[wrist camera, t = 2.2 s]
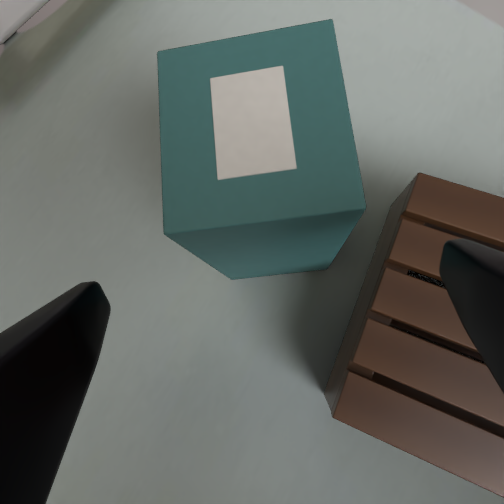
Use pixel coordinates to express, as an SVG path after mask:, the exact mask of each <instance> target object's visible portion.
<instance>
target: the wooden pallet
mask: <svg viewBox="0 0 504 504" xmlns="http://www.w3.org/2000/svg"><path fill="white" fill-rule="evenodd" d="M461 238H465V239H468V240H471V241H474V242H477V243H479V244H482V245H485V246H488V247H490V248H493V249H496V250H499V251H501V252H504V198H502V197H499V196H496V195H492V194H489V193H486V192H482V191H479V190H476V189H472V188H469V187H466V186H463V185H459V184H456V183H453V182H449V181H446V180H443V179H439V178H436V177H433V176H429V175H426V174H423V173H418V174H417V175H416V176H415V177H414V179H413V180H412V181H411V183H410V184H409V185H408V186H407V187H406V188H405V190H404V191H403V192H402V193H401V194H400V196H399V197H398V198H397V199H396V200H395V202H394V203H393V204H392V205H391V208H390V211H389V213H388V216H387V219H386V222H385V225H384V227H383V230H382V233H381V236H380V238H379V241H378V244H377V247H376V250H375V252H374V255H373V258H372V261H371V264H370V266H369V269H368V272H367V275H366V278H365V280H364V283H363V286H362V289H361V291H360V294H359V297H358V300H357V303H356V305H355V308H354V311H353V314H352V317H351V319H350V322H349V325H348V328H347V330H346V333H345V336H344V339H343V342H342V344H341V347H340V350H339V353H338V356H337V358H336V361H335V364H334V367H333V370H332V372H331V375H330V378H329V381H328V383H327V386H326V389H325V392H324V395H325V398H326V400H327V402H328V405H329V407H330V410H331V414H332V417H333V418H334V419H337V420H339V421H341V422H343V423H345V424H347V425H349V426H352V427H354V428H356V429H358V430H360V431H362V432H364V433H367V434H369V435H371V436H373V437H375V438H377V439H379V440H382V441H384V442H386V443H388V444H390V445H392V446H394V447H397V448H399V449H401V450H403V451H405V452H407V453H409V454H412V455H414V456H416V457H418V458H420V459H422V460H424V461H427V462H429V463H431V464H433V465H435V466H437V467H439V468H442V469H444V470H446V471H448V472H450V473H452V474H454V475H457V476H459V477H461V478H463V479H465V480H467V481H469V482H472V483H474V484H476V485H478V486H480V487H482V488H484V489H487V490H489V491H491V492H493V493H495V494H497V495H499V496H502V497H504V394H503V392H502V390H501V389H500V387H499V385H498V384H497V382H496V380H495V379H494V377H493V376H492V374H491V372H490V371H489V369H488V367H487V366H486V364H483V363H481V362H478V361H476V360H473V359H471V358H468V357H466V356H463V355H461V354H458V353H456V352H453V351H451V350H448V349H446V348H443V347H441V346H438V345H436V344H433V343H431V342H428V341H426V340H423V339H421V338H418V337H416V336H413V335H411V334H414V335H417V336H419V337H422V338H424V339H427V340H429V341H432V342H434V343H437V344H439V345H442V346H444V347H447V348H449V349H452V350H454V351H457V352H459V353H462V354H464V355H467V356H469V357H472V358H475V359H477V360H480V361H482V362H484V361H483V359H482V357H481V356H480V354H479V352H478V351H477V349H476V348H475V346H474V344H473V343H472V341H471V339H470V338H469V336H468V334H467V332H466V331H465V329H464V327H463V325H462V323H461V321H460V319H459V317H458V314H457V312H456V310H455V308H454V306H453V303H452V301H451V299H450V297H449V295H448V292H447V290H446V289H445V288H442V287H440V286H437V285H434V284H431V283H429V282H426V281H423V280H420V279H418V278H415V277H412V276H409V275H407V273H408V270H411V271H414V272H417V273H420V274H422V275H425V276H428V277H431V278H434V279H436V280H439V281H442V279H441V277H440V273H439V266H440V261H441V256H442V251H443V246H444V243H445V242H446V241H448V240H453V239H461ZM442 282H443V281H442ZM390 325H391V326H394V327H396V328H399V329H401V330H404V331H406V332H409V333H411V334H408V333H405V332H403V331H400V330H398V329H395V328H393V327H390Z"/></svg>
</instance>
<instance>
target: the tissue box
mask: <svg viewBox="0 0 504 504" xmlns="http://www.w3.org/2000/svg"><path fill="white" fill-rule="evenodd" d="M157 59H158V88H159V116H160V144H161V172H162V200H163V229H164V235H166V236H167V237H169V238H170V239H172V240H173V241H175V242H176V243H178V244H179V245H181V246H182V247H184V248H185V249H187V250H188V251H190V252H191V253H193V254H194V255H196V256H197V257H198V258H200V259H201V260H203V261H204V262H206V263H207V264H209V265H210V266H212V267H213V268H215V269H216V270H218V271H219V272H221V273H222V274H224V275H225V276H227V277H228V278H230V279H231V280H234V279H243V278H252V277H261V276H270V275H279V274H288V273H297V272H306V271H315V270H324V269H328V267H329V266H330V264H331V263H332V261H333V259H334V258H335V256H336V255H337V253H338V252H339V250H340V249H341V247H342V245H343V244H344V242H345V241H346V239H347V238H348V236H349V234H350V233H351V231H352V230H353V228H354V227H355V225H356V224H357V222H358V220H359V219H360V217H361V216H362V214H363V213H364V211H365V209H366V202H365V197H364V191H363V186H362V180H361V174H360V169H359V163H358V158H357V152H356V147H355V141H354V136H353V130H352V124H351V119H350V113H349V108H348V102H347V97H346V91H345V85H344V80H343V74H342V69H341V63H340V58H339V52H338V46H337V41H336V35H335V30H334V24H333V20H332V19H329V20H324V21H318V22H313V23H308V24H302V25H297V26H292V27H286V28H281V29H276V30H270V31H265V32H259V33H254V34H249V35H243V36H238V37H233V38H227V39H222V40H217V41H211V42H206V43H201V44H195V45H190V46H185V47H179V48H174V49H168V50H163V51H158V52H157Z"/></svg>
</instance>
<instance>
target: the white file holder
mask: <svg viewBox="0 0 504 504" xmlns="http://www.w3.org/2000/svg"><path fill="white" fill-rule="evenodd" d="M48 1H49V0H0V44H2V43H4V42H5V41H6V40H7V39H8V38H9V37H10V36H11V35H13V34H14V33H15V32H16V31H17V30H18V29H19V28H20V27H21V26H22V25H23V24H24V23H26V21H28V20H29V19H30V18H31V17H32V16H33V15H34V14H35V13H36V12H37V11H38V10H40V9H41V8H42V7H43V6H44V5H45V4H46V3H47V2H48Z"/></svg>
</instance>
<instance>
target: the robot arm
mask: <svg viewBox="0 0 504 504" xmlns="http://www.w3.org/2000/svg"><path fill="white" fill-rule="evenodd" d="M439 273H440V277H441V279H442V281H443V284H444V286H445V288H446V290H447V292H448V295H449V297H450V299H451V301H452V303H453V306H454V308H455V310H456V312H457V314H458V317H459V319H460V321H461V323H462V325H463V327H464V329H465V331H466V332H467V334H468V336H469V338H470V339H471V341H472V343H473V344H474V346H475V348H476V349H477V351H478V352H479V354H480V356H481V357H482V359H483V361H484V362H485V364H486V366H487V367H488V369H489V371H490V372H491V374H492V376H493V377H494V379H495V380H496V382H497V384H498V385H499V387H500V389H501V390H502V392H503V394H504V252H501V251H499V250H496V249H493V248H490V247H488V246H485V245H482V244H479V243H477V242H474V241H471V240H468V239H465V238H461V239H453V240H448V241H446V242H445V243H444V246H443V251H442V256H441V261H440V266H439ZM110 310H111V308H110V304H109V301H108V299H107V297H106V296H105V294H104V292H103V290H102V288H101V286H100V284H99V283H98V282H95V281H92V282H83V283H80V284H78V285H77V286H75V287H73V288H72V289H70V290H69V291H67V292H65V293H64V294H62V295H61V296H59V297H57V298H56V299H54V300H53V301H51V302H49V303H48V304H46V305H45V306H43V307H41V308H40V309H38V310H37V311H35V312H33V313H32V314H30V315H29V316H27V317H26V318H24V319H22V320H21V321H19V322H18V323H16V324H14V325H13V326H11V327H10V328H8V329H6V330H5V331H3V332H2V333H0V504H46V501H47V498H48V496H49V493H50V490H51V487H52V485H53V482H54V479H55V477H56V474H57V471H58V469H59V466H60V463H61V460H62V458H63V455H64V452H65V450H66V447H67V444H68V441H69V439H70V436H71V433H72V431H73V428H74V425H75V422H76V420H77V417H78V414H79V412H80V409H81V406H82V403H83V401H84V398H85V395H86V393H87V390H88V387H89V385H90V382H91V379H92V376H93V374H94V371H95V368H96V365H97V362H98V359H99V355H100V351H101V348H102V344H103V340H104V336H105V332H106V328H107V324H108V320H109V316H110Z"/></svg>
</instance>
